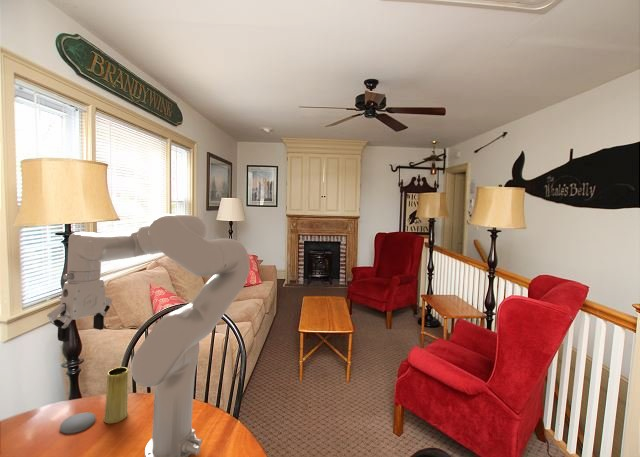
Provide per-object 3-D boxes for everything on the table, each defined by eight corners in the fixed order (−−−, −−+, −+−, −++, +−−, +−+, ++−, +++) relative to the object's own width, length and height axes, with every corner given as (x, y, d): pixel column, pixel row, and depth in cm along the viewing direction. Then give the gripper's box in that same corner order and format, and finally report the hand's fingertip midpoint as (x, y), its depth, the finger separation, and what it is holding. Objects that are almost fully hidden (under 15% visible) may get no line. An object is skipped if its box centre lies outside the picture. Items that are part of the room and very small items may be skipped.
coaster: (101, 418, 91) (102, 416, 91) (73, 436, 84) (74, 433, 84) (82, 412, 94) (82, 409, 94) (52, 429, 86) (53, 426, 86)
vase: (132, 412, 95) (134, 367, 95) (117, 425, 89) (119, 377, 89) (114, 409, 96) (116, 365, 95) (98, 422, 90) (100, 375, 89)
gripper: (60, 283, 78) (58, 349, 78) (121, 272, 94) (119, 327, 95) (39, 279, 80) (37, 343, 80) (103, 269, 96) (100, 323, 97)
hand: (81, 334), depth 88 cm, fingers open, 9 cm apart
